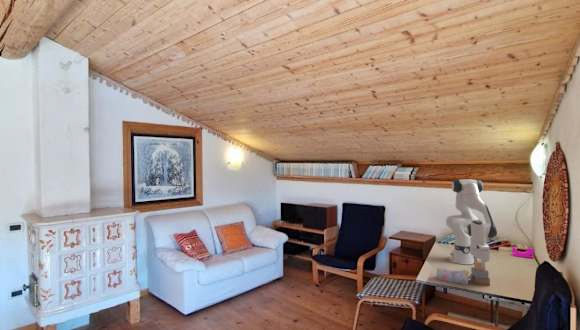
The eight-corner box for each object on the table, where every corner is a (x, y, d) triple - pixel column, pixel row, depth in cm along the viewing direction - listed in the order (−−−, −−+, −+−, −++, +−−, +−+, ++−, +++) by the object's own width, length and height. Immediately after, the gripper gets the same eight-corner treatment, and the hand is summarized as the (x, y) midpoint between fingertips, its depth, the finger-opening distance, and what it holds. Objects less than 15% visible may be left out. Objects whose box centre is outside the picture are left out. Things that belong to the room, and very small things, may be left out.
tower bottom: (470, 281, 236) (470, 274, 236) (483, 281, 235) (483, 274, 235) (476, 285, 227) (475, 278, 227) (490, 285, 226) (489, 278, 226)
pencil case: (469, 282, 232) (469, 269, 232) (469, 286, 225) (469, 272, 225) (437, 278, 243) (436, 265, 243) (435, 282, 235) (435, 268, 235)
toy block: (532, 256, 294) (532, 247, 294) (533, 257, 289) (533, 249, 289) (512, 254, 302) (512, 246, 302) (512, 255, 296) (512, 247, 296)
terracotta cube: (474, 267, 234) (474, 260, 234) (481, 267, 233) (481, 260, 233) (477, 270, 229) (477, 262, 229) (485, 270, 228) (485, 262, 228)
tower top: (471, 274, 236) (471, 267, 236) (483, 274, 234) (483, 267, 234) (475, 278, 228) (475, 270, 228) (488, 278, 226) (488, 270, 226)
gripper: (467, 241, 242) (467, 260, 242) (481, 248, 221) (481, 268, 221) (476, 241, 241) (476, 260, 241) (491, 247, 221) (491, 268, 221)
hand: (479, 264), depth 231 cm, fingers open, 8 cm apart
